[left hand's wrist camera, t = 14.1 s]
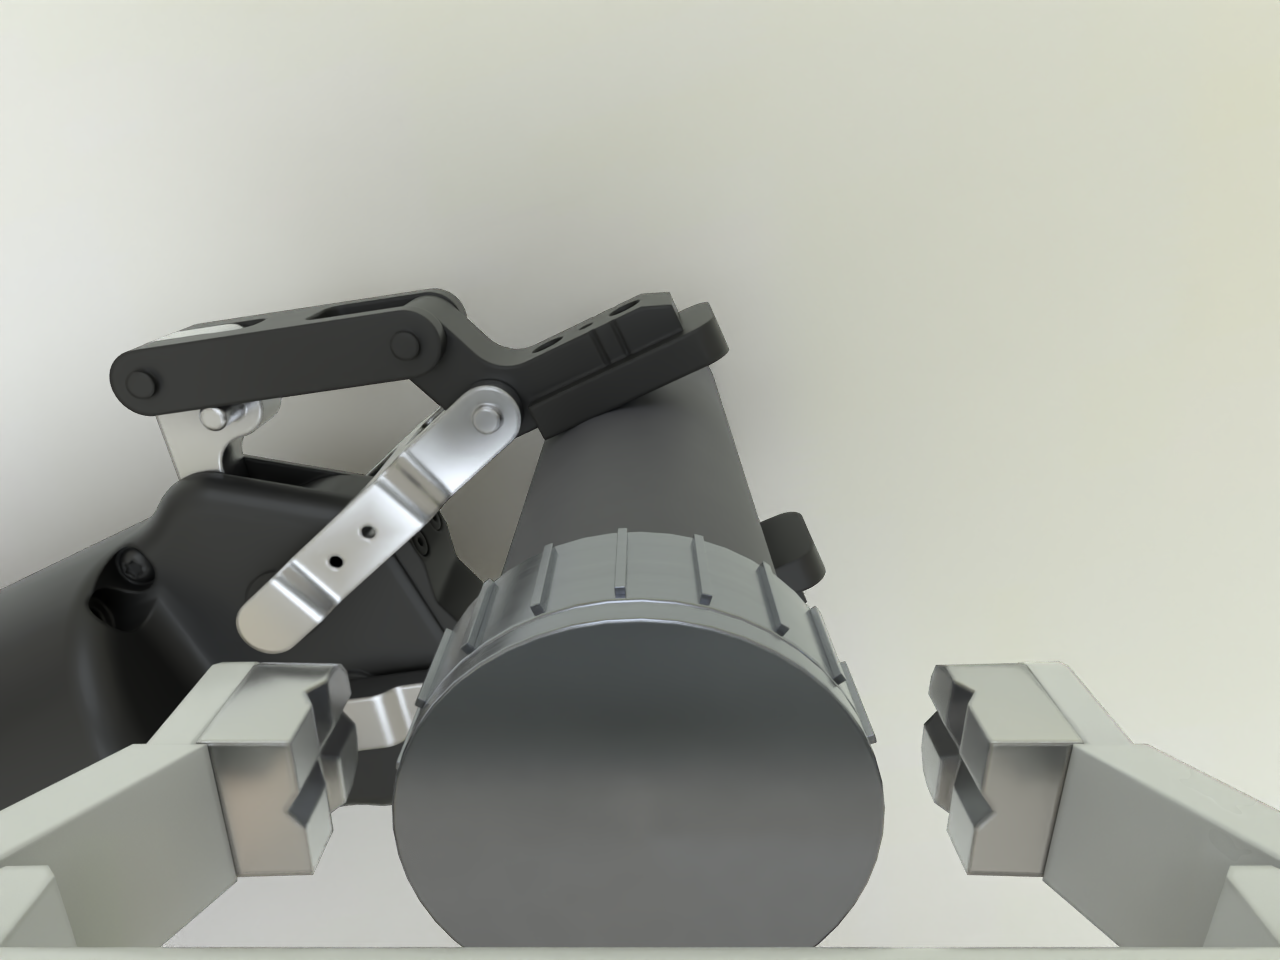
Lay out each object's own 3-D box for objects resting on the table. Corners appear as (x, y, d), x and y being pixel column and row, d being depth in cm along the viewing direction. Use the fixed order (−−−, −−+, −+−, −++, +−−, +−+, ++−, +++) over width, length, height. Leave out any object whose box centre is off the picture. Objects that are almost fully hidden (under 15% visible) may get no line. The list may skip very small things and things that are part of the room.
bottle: (733, 455, 24) (866, 898, 10) (586, 493, 24) (513, 968, 10) (696, 307, 22) (792, 577, 8) (540, 349, 23) (381, 676, 9)
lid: (872, 526, 10) (926, 614, 8) (829, 876, 11) (864, 1014, 10) (413, 520, 10) (359, 607, 8) (444, 873, 11) (407, 1010, 10)
